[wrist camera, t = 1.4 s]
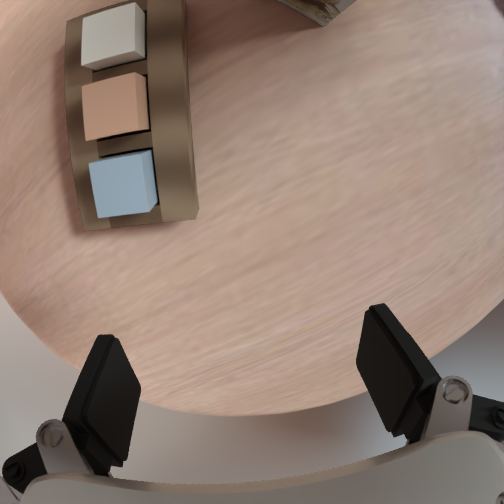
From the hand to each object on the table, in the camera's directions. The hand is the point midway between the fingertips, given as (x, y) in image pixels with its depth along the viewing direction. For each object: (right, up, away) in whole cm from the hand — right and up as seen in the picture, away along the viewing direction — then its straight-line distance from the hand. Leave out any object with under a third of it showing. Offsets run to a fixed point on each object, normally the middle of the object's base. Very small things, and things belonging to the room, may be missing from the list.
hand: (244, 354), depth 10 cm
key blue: (-11, +11, +15) cm, 22 cm away
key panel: (-12, +18, +15) cm, 26 cm away
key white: (-12, +23, +9) cm, 28 cm away
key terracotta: (-12, +17, +12) cm, 24 cm away
